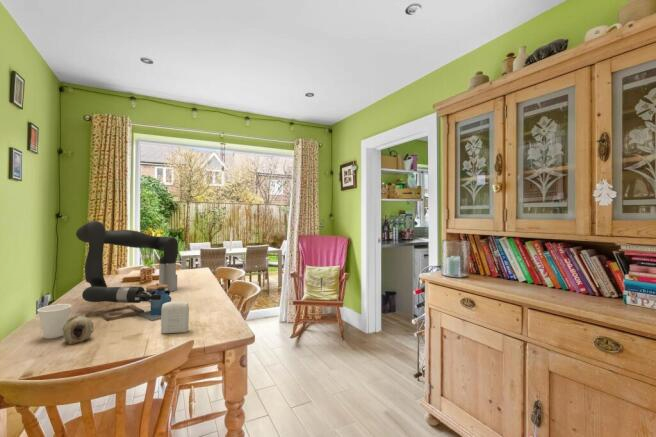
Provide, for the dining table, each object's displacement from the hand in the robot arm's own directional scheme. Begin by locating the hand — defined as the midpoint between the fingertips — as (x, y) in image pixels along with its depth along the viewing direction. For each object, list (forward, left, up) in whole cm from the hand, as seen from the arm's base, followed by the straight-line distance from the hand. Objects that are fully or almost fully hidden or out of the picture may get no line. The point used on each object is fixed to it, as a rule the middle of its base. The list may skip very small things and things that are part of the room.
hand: (165, 295), depth 148 cm
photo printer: (+7, +26, -9) cm, 28 cm away
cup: (+39, -4, -9) cm, 41 cm away
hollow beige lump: (+34, +8, -9) cm, 36 cm away
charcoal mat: (+1, -1, -9) cm, 9 cm away
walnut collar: (+13, -16, -9) cm, 23 cm away
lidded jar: (-8, -27, -9) cm, 30 cm away
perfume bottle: (+1, -2, -9) cm, 9 cm away
